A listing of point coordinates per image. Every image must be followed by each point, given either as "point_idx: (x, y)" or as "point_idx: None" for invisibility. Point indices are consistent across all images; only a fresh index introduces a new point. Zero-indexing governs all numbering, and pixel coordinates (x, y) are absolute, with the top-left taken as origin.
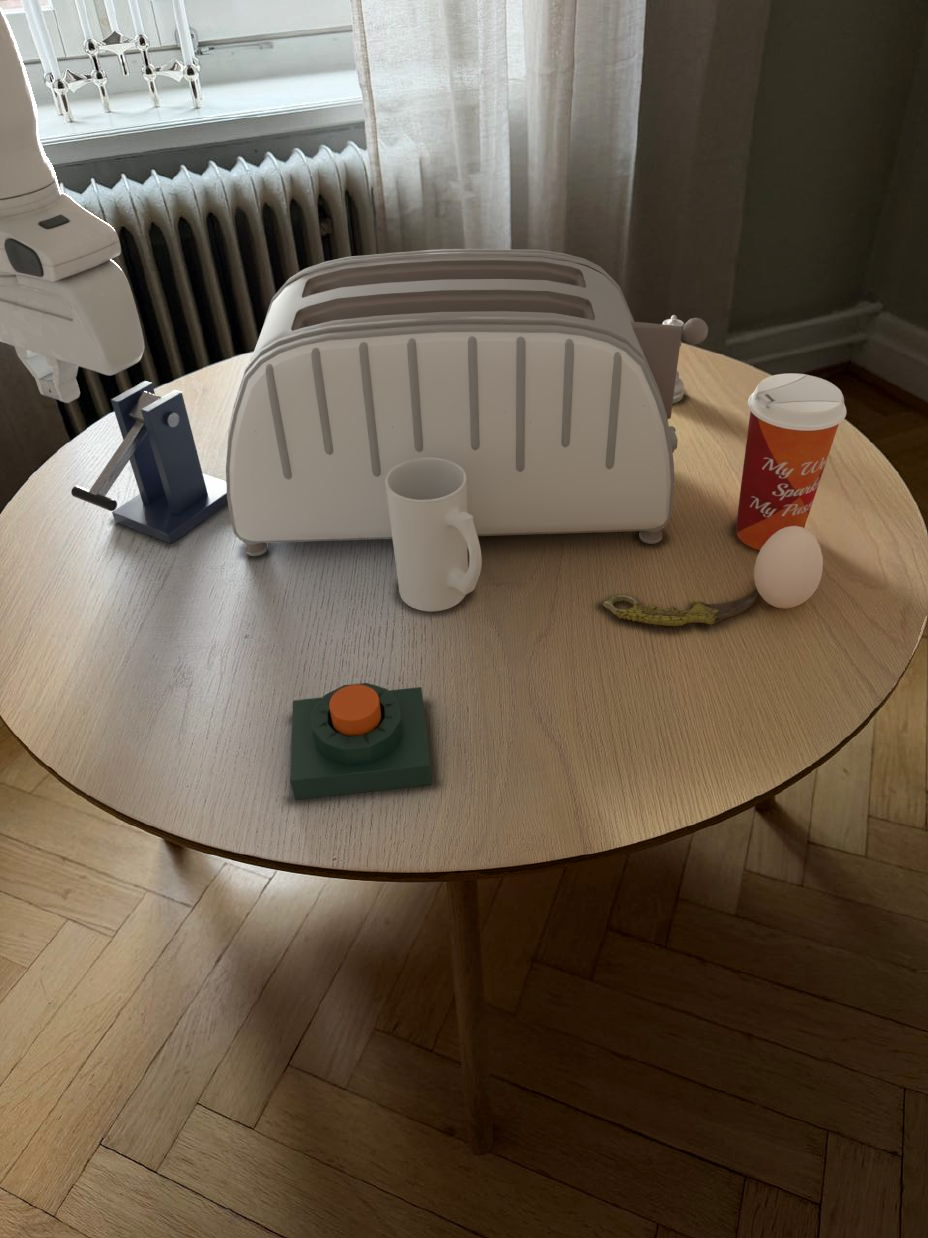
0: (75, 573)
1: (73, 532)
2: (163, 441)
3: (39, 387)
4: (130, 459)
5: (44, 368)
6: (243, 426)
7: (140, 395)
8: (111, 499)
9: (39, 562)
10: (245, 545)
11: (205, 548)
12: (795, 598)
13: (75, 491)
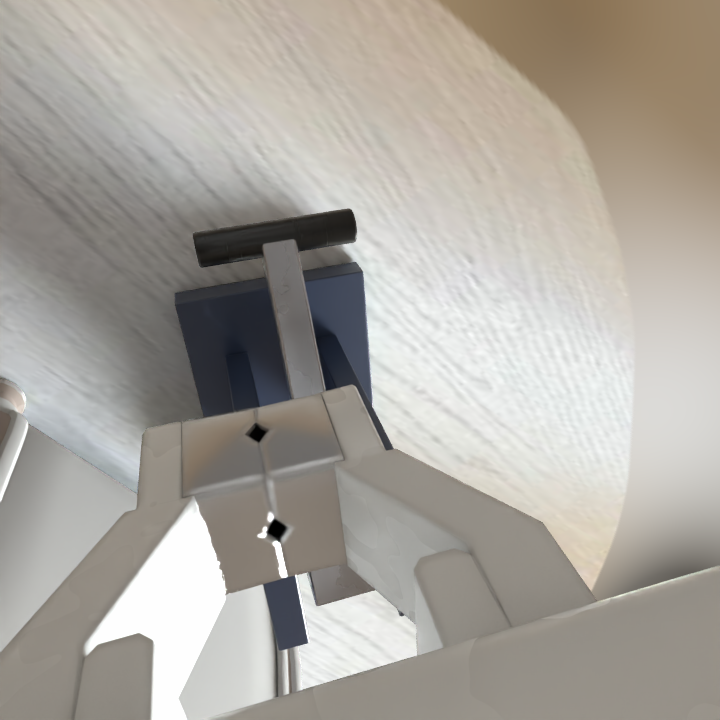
0: (255, 75)
1: (403, 178)
2: None
3: (348, 411)
4: (361, 395)
5: (373, 539)
6: None
7: None
8: (201, 260)
9: (371, 47)
10: (9, 391)
11: (98, 331)
12: None
13: (336, 219)
